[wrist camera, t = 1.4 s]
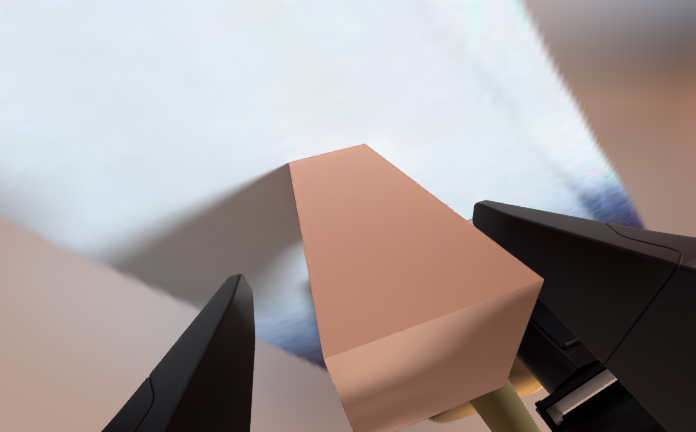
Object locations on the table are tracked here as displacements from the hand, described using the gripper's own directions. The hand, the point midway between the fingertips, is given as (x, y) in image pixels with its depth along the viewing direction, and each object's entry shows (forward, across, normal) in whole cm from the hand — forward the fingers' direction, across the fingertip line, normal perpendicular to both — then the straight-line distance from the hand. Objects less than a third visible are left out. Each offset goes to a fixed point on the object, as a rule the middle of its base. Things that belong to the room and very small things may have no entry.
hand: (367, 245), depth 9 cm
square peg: (+5, 0, 0) cm, 5 cm away
